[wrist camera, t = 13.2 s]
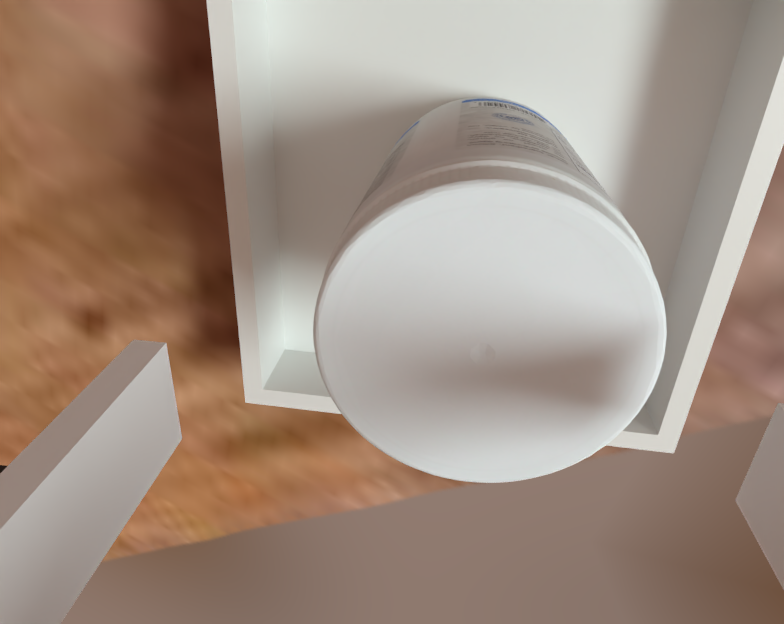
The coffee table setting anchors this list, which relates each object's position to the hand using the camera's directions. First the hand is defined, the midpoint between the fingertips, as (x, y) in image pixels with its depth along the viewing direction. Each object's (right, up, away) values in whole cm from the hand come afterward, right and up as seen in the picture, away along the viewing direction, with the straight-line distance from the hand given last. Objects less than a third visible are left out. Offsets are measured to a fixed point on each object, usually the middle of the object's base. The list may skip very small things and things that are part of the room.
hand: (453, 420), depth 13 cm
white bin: (+3, +8, +16) cm, 18 cm away
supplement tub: (+3, +8, +15) cm, 18 cm away
